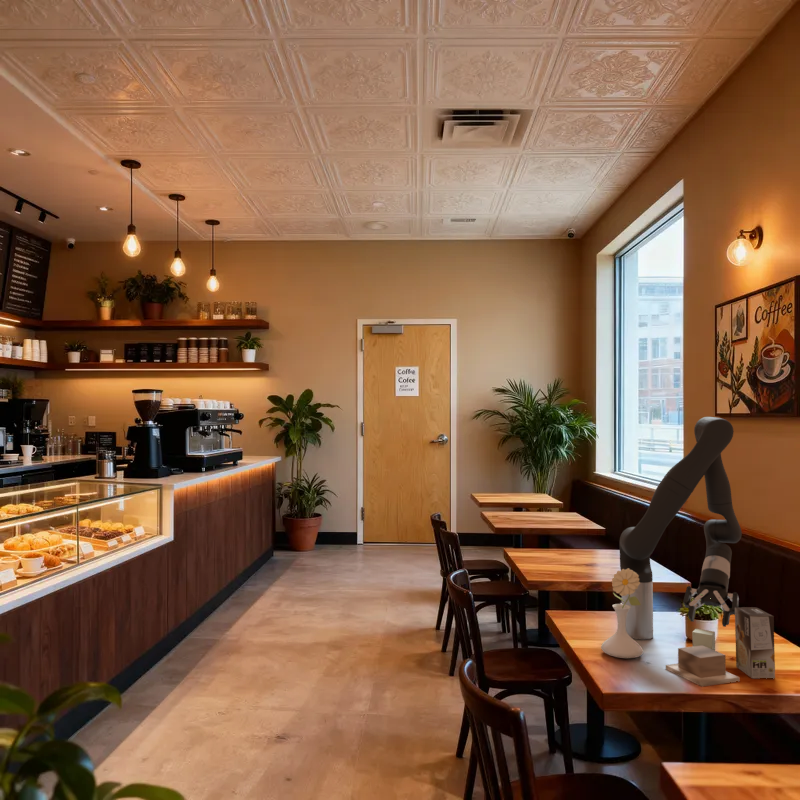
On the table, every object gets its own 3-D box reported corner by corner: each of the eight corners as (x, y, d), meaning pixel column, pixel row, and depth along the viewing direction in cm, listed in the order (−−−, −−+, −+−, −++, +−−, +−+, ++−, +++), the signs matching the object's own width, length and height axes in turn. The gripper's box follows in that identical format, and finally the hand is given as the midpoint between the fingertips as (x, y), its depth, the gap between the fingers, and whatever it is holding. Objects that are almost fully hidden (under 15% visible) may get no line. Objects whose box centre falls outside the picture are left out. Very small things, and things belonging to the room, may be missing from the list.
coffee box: (776, 679, 170) (775, 616, 171) (751, 678, 170) (750, 615, 171) (758, 666, 179) (757, 606, 180) (734, 666, 180) (733, 606, 180)
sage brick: (692, 661, 184) (692, 631, 184) (696, 657, 187) (695, 628, 187) (712, 664, 181) (711, 635, 181) (715, 660, 184) (714, 631, 184)
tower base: (665, 668, 177) (665, 646, 178) (701, 664, 181) (701, 641, 181) (701, 686, 165) (701, 662, 165) (739, 681, 169) (739, 657, 169)
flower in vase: (592, 651, 191) (592, 564, 192) (624, 646, 195) (623, 561, 197) (623, 666, 179) (622, 573, 180) (656, 661, 183) (655, 570, 185)
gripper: (687, 564, 200) (678, 611, 190) (739, 570, 191) (733, 619, 181) (692, 579, 204) (683, 625, 194) (743, 585, 195) (737, 634, 185)
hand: (707, 622), depth 188 cm, fingers open, 8 cm apart
